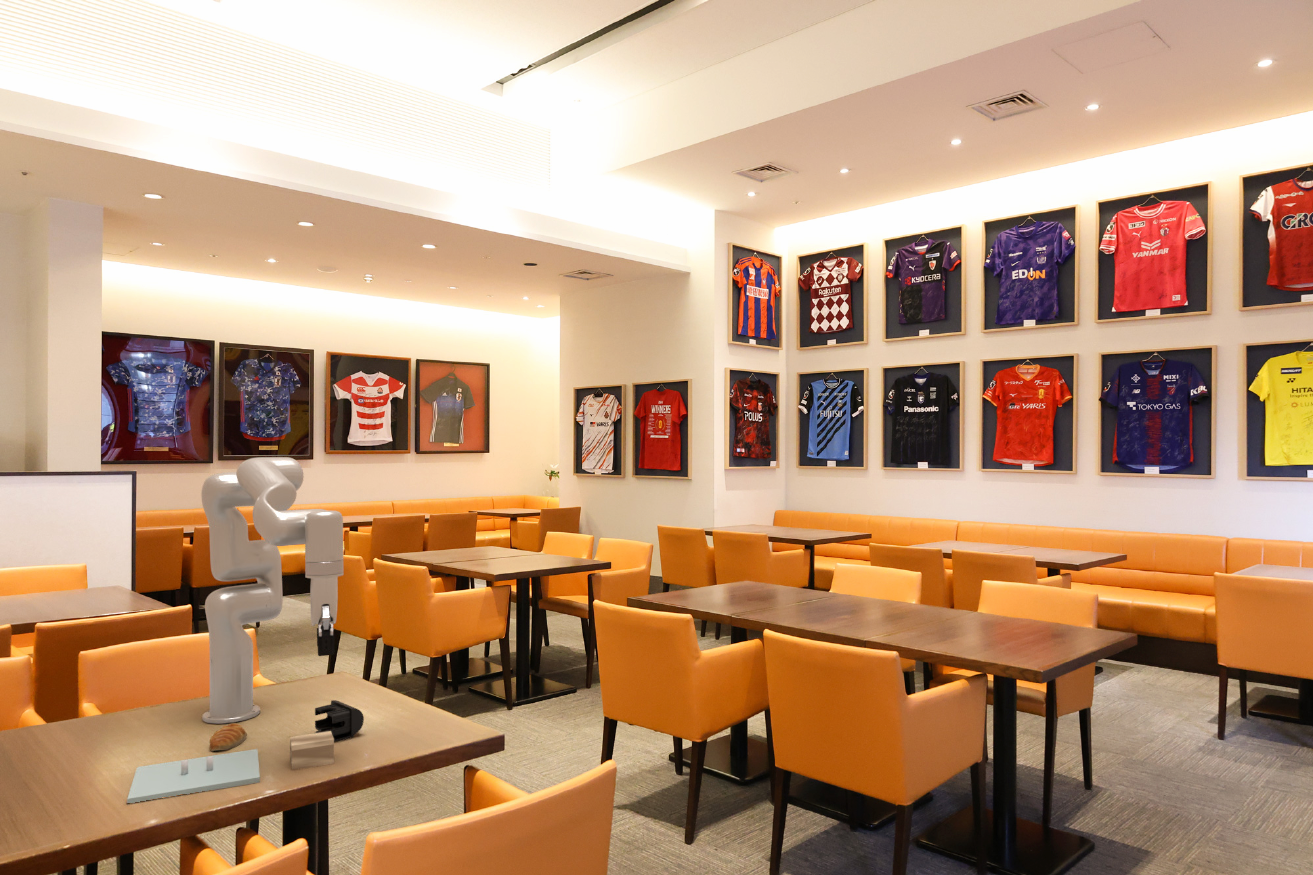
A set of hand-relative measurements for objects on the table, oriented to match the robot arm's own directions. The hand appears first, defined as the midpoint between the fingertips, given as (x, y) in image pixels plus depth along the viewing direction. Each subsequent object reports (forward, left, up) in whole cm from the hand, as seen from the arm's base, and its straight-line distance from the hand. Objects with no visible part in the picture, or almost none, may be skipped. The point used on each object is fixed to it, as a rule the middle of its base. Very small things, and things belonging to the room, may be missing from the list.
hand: (325, 650), depth 178 cm
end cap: (-15, +4, -23) cm, 28 cm away
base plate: (-1, -24, -23) cm, 33 cm away
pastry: (-20, -19, -23) cm, 36 cm away
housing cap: (+1, -3, -23) cm, 23 cm away
